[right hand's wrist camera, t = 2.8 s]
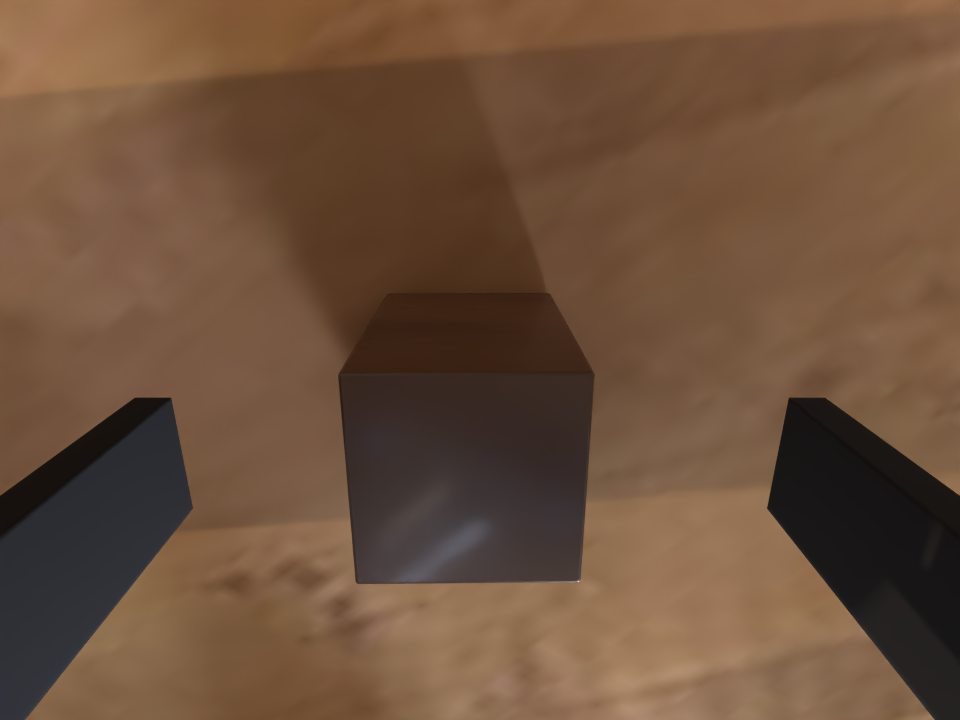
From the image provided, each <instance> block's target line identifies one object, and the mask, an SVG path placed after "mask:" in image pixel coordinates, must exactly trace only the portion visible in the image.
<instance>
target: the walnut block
mask: <svg viewBox="0 0 960 720" xmlns="http://www.w3.org/2000/svg"><path fill="white" fill-rule="evenodd" d="M594 375H595V374H594V372H593V370H592V368H591V366H590V365H589V363H588V361H587V359H586V358H585V356H584V354H583V352H582V350H581V349H580V347H579V345H578V343H577V341H576V340H575V338H574V336H573V334H572V333H571V331H570V329H569V327H568V325H567V324H566V322H565V320H564V318H563V316H562V315H561V313H560V311H559V309H558V308H557V306H556V304H555V302H554V300H553V299H552V297H551V295H550V294H388V295H387V297H386V298H385V300H384V301H383V303H382V305H381V306H380V308H379V309H378V311H377V313H376V314H375V316H374V318H373V319H372V321H371V322H370V324H369V326H368V327H367V329H366V330H365V332H364V334H363V335H362V337H361V339H360V340H359V342H358V343H357V345H356V347H355V348H354V350H353V351H352V353H351V355H350V356H349V358H348V360H347V361H346V363H345V364H344V366H343V368H342V369H341V371H340V372H339V375H338V379H339V390H340V402H341V414H342V426H343V438H344V449H345V461H346V473H347V485H348V497H349V508H350V520H351V532H352V544H353V556H354V567H355V579H356V583H358V584H406V583H534V582H579V581H580V579H581V566H582V551H583V536H584V522H585V507H586V492H587V478H588V463H589V449H590V434H591V419H592V405H593V390H594Z"/></svg>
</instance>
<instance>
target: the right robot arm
mask: <svg viewBox="0 0 960 720" xmlns="http://www.w3.org/2000/svg"><path fill="white" fill-rule="evenodd" d="M192 509H193V507H192V502H191V497H190V492H189V486H188V481H187V476H186V471H185V466H184V461H183V456H182V451H181V446H180V441H179V436H178V430H177V425H176V420H175V415H174V410H173V405H172V400H171V398H134V399H133V400H131V401H130V402H129V403H127V404H126V405H124V406H123V407H122V408H120V409H119V410H118V411H116V412H115V413H113V414H112V415H111V416H109V417H108V418H107V419H105V420H104V421H102V422H101V423H100V424H98V425H97V426H96V427H94V428H93V429H91V430H90V431H89V432H87V433H86V434H85V435H83V436H82V437H80V438H79V439H78V440H76V441H75V442H74V443H72V444H71V445H69V446H68V447H67V448H65V449H64V450H63V451H61V452H60V453H58V454H57V455H56V456H54V457H53V458H52V459H50V460H49V461H47V462H46V463H45V464H43V465H42V466H41V467H39V468H38V469H37V470H35V471H34V472H32V473H31V474H30V475H28V476H27V477H26V478H24V479H23V480H21V481H20V482H19V483H17V484H16V485H15V486H13V487H12V488H10V489H9V490H8V491H6V492H5V493H4V494H2V495H1V496H0V720H25V719H26V718H27V717H28V716H29V714H30V713H31V712H32V711H33V709H34V708H35V707H36V705H37V704H38V703H39V702H40V700H41V699H42V698H43V697H44V695H45V694H46V693H47V692H48V690H49V689H50V688H51V687H52V685H53V684H54V683H55V682H56V680H57V679H58V678H59V677H60V675H61V674H62V673H63V671H64V670H65V669H66V668H67V666H68V665H69V664H70V663H71V661H72V660H73V659H74V658H75V656H76V655H77V654H78V653H79V651H80V650H81V649H82V648H83V646H84V645H85V644H86V642H87V641H88V640H89V639H90V637H91V636H92V635H93V634H94V632H95V631H96V630H97V629H98V627H99V626H100V625H101V624H102V622H103V621H104V620H105V619H106V617H107V616H108V615H109V613H110V612H111V611H112V610H113V608H114V607H115V606H116V605H117V603H118V602H119V601H120V600H121V598H122V597H123V596H124V595H125V593H126V592H127V591H128V590H129V588H130V587H131V586H132V585H133V583H134V582H135V581H136V579H137V578H138V577H139V576H140V574H141V573H142V572H143V571H144V569H145V568H146V567H147V566H148V564H149V563H150V562H151V561H152V559H153V558H154V557H155V556H156V554H157V553H158V552H159V550H160V549H161V548H162V547H163V545H164V544H165V543H166V542H167V540H168V539H169V538H170V537H171V535H172V534H173V533H174V532H175V530H176V529H177V528H178V527H179V525H180V524H181V523H182V522H183V520H184V519H185V518H186V516H187V515H188V514H189V513H190V511H191V510H192ZM767 509H768V510H769V511H770V513H771V514H772V515H773V516H774V518H775V519H776V520H777V522H778V523H779V524H780V525H781V527H782V528H783V529H784V530H785V532H786V533H787V534H788V535H789V537H790V538H791V539H792V540H793V542H794V543H795V544H796V545H797V547H798V548H799V549H800V550H801V552H802V553H803V554H804V556H805V557H806V558H807V559H808V561H809V562H810V563H811V564H812V566H813V567H814V568H815V569H816V571H817V572H818V573H819V574H820V576H821V577H822V578H823V579H824V581H825V582H826V583H827V585H828V586H829V587H830V588H831V590H832V591H833V592H834V593H835V595H836V596H837V597H838V598H839V600H840V601H841V602H842V603H843V605H844V606H845V607H846V608H847V610H848V611H849V612H850V613H851V615H852V616H853V617H854V619H855V620H856V621H857V622H858V624H859V625H860V626H861V627H862V629H863V630H864V631H865V632H866V634H867V635H868V636H869V637H870V639H871V640H872V641H873V642H874V644H875V645H876V646H877V648H878V649H879V650H880V651H881V653H882V654H883V655H884V656H885V658H886V659H887V660H888V661H889V663H890V664H891V665H892V666H893V668H894V669H895V670H896V671H897V673H898V674H899V675H900V677H901V678H902V679H903V680H904V682H905V683H906V684H907V685H908V687H909V688H910V689H911V690H912V692H913V693H914V694H915V695H916V697H917V698H918V699H919V700H920V702H921V703H922V704H923V705H924V707H925V708H926V709H927V711H928V712H929V713H930V714H931V716H932V717H933V718H934V719H935V720H960V496H959V495H958V494H956V493H955V492H954V491H952V490H951V489H950V488H948V487H947V486H945V485H944V484H943V483H941V482H940V481H939V480H937V479H936V478H934V477H933V476H932V475H930V474H929V473H928V472H926V471H925V470H923V469H922V468H921V467H919V466H918V465H917V464H915V463H914V462H913V461H911V460H910V459H908V458H907V457H906V456H904V455H903V454H902V453H900V452H899V451H897V450H896V449H895V448H893V447H892V446H891V445H889V444H888V443H886V442H885V441H884V440H882V439H881V438H880V437H878V436H877V435H875V434H874V433H873V432H871V431H870V430H869V429H867V428H866V427H864V426H863V425H862V424H860V423H859V422H858V421H856V420H855V419H853V418H852V417H851V416H849V415H848V414H847V413H845V412H844V411H842V410H841V409H840V408H838V407H837V406H836V405H834V404H833V403H831V402H830V401H829V400H827V399H826V398H789V400H788V405H787V410H786V415H785V420H784V425H783V430H782V436H781V441H780V446H779V451H778V456H777V461H776V466H775V471H774V476H773V481H772V486H771V492H770V497H769V502H768V507H767Z"/></svg>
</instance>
